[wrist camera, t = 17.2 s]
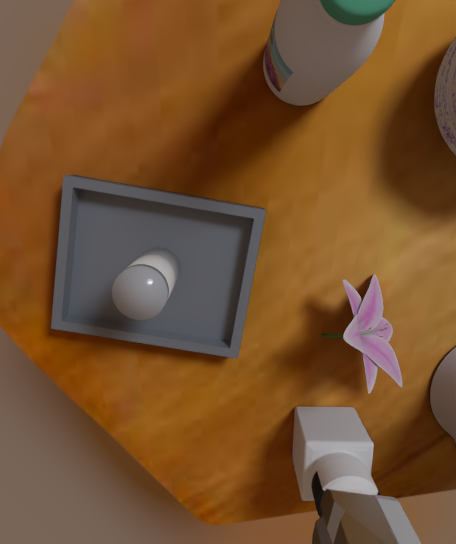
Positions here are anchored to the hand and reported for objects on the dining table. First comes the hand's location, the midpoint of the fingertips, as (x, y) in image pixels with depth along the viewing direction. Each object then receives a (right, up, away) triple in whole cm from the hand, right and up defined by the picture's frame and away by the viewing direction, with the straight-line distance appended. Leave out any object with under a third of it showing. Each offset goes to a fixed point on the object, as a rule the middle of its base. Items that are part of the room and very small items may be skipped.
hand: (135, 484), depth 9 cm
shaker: (-5, +5, +36) cm, 37 cm away
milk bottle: (+9, +25, +33) cm, 42 cm away
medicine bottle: (+13, -15, +42) cm, 46 cm away
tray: (-6, +5, +37) cm, 38 cm away
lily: (+16, -1, +39) cm, 42 cm away
